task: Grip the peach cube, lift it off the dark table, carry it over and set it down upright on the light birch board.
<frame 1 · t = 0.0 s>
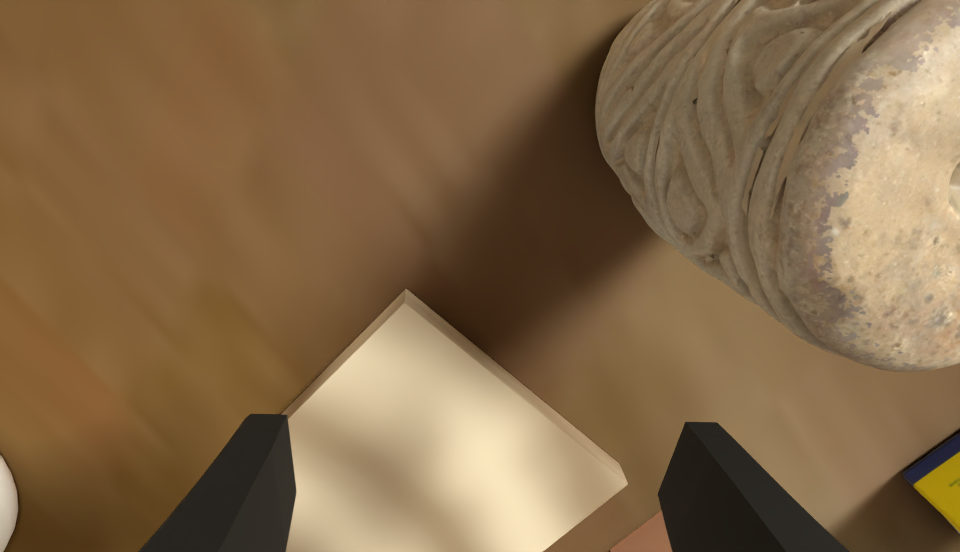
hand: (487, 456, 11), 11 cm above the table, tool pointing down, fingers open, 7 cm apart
birch board: (401, 490, 24), on the table
carving: (675, 97, 19), on the table
peach cube: (684, 542, 27), on the table
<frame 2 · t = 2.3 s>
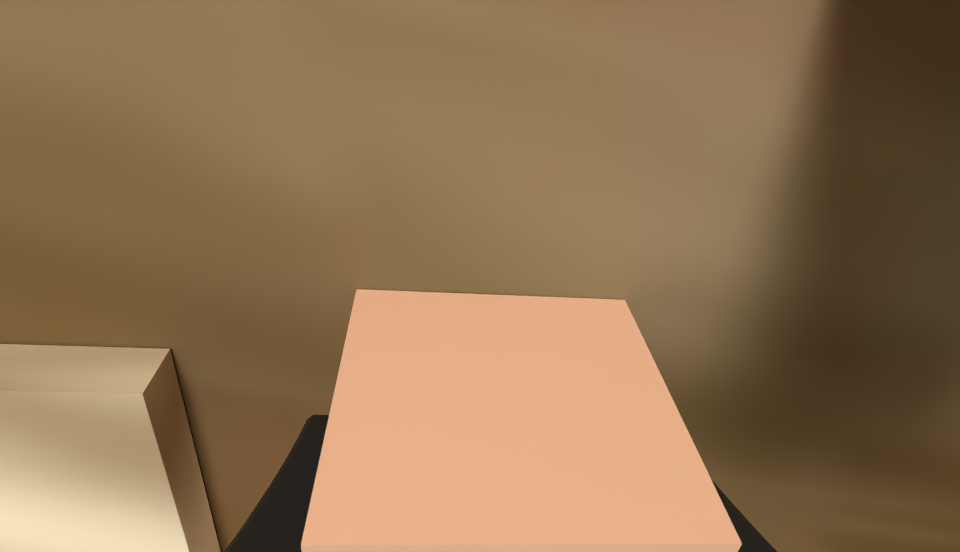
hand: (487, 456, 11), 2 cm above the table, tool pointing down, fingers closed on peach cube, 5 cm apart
peach cube: (481, 394, 12), on the table, touching gripper
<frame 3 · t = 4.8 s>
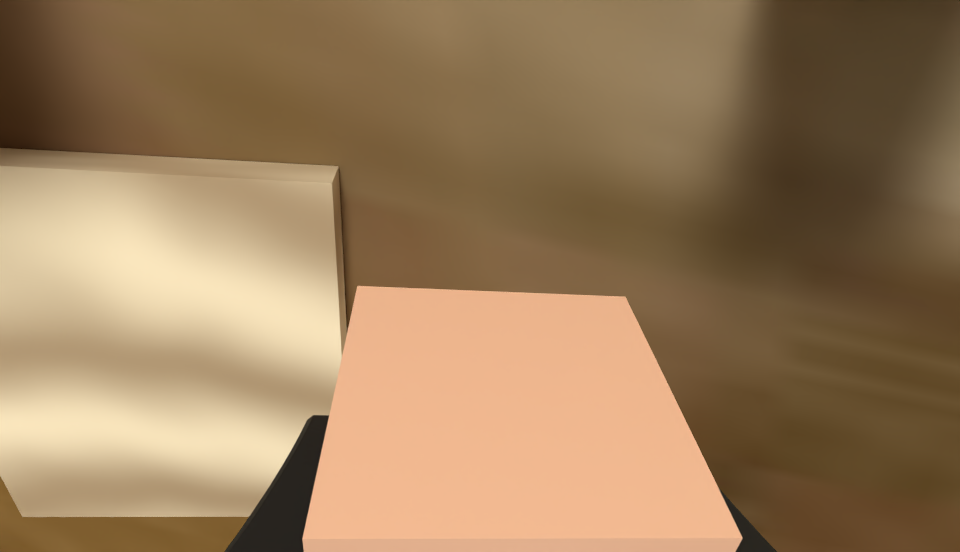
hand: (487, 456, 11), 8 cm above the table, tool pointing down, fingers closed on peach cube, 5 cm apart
birch board: (165, 354, 19), on the table
peach cube: (482, 391, 12), point 7 cm above the table, touching gripper
when the fingers open (4 cm above the table, at t = 7.5 s): peach cube drops 1 cm, resting on birch board.
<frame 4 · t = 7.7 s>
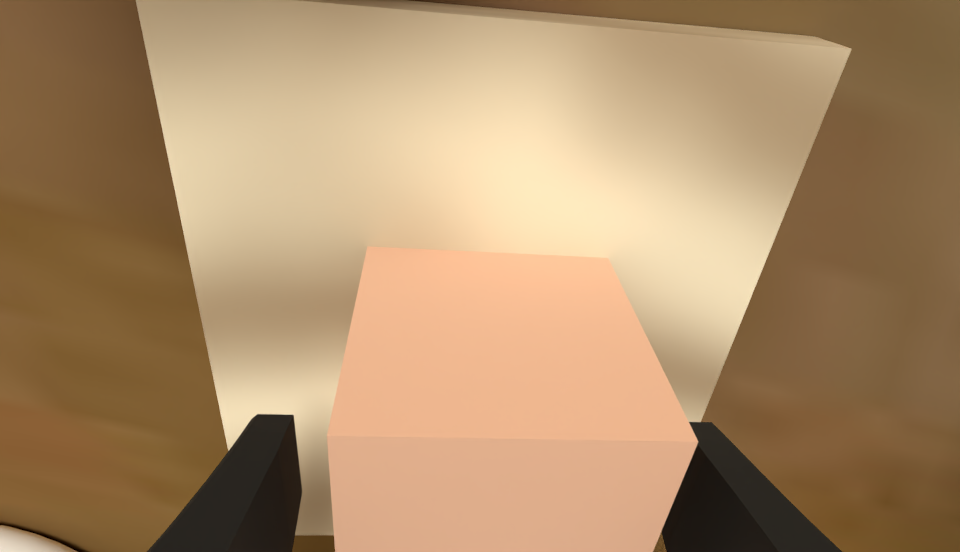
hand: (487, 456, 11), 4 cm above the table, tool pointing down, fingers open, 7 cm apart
birch board: (475, 317, 14), on the table
peach cube: (479, 346, 13), point 1 cm above the table, touching birch board
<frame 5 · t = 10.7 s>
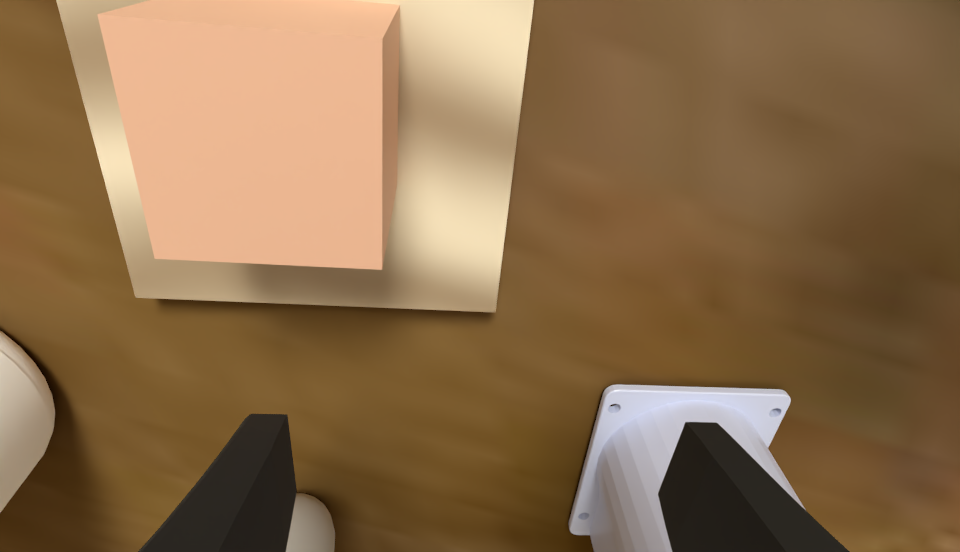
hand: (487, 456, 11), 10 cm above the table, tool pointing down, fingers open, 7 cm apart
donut: (298, 511, 27), on the table
birch board: (314, 86, 17), on the table
peach cube: (307, 95, 16), point 1 cm above the table, touching birch board
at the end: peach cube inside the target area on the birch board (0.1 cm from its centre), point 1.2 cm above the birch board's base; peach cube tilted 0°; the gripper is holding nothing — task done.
